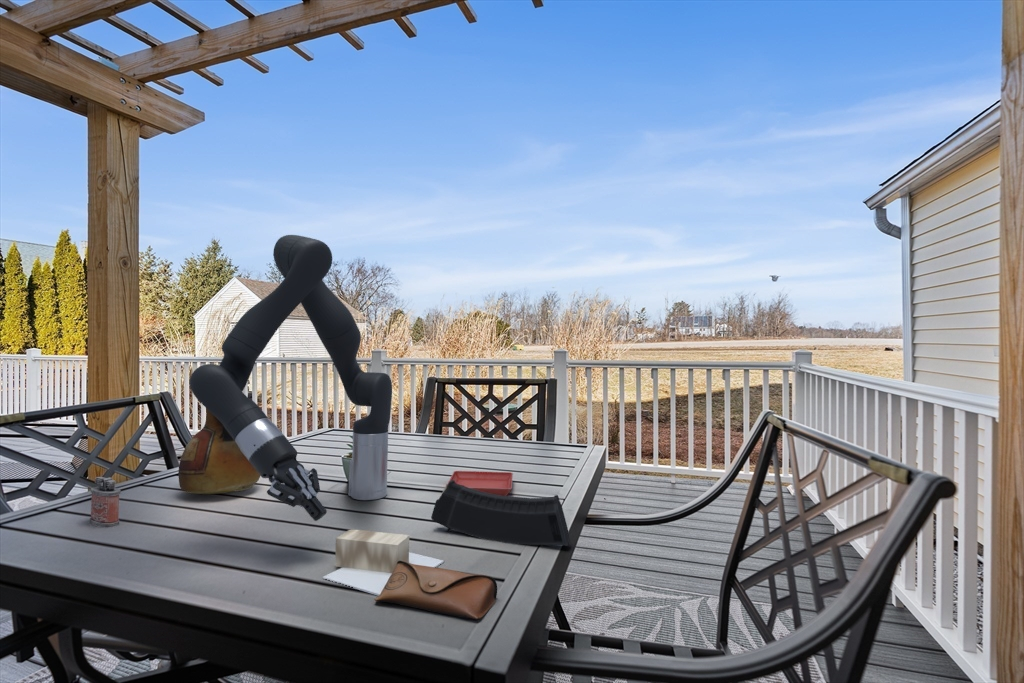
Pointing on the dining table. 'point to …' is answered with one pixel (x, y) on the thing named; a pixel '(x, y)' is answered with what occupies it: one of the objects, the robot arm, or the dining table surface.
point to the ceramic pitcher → (215, 462)
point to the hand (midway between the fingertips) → (321, 516)
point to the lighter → (105, 503)
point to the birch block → (371, 550)
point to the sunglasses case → (440, 590)
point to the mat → (374, 575)
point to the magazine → (501, 516)
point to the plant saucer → (485, 481)
